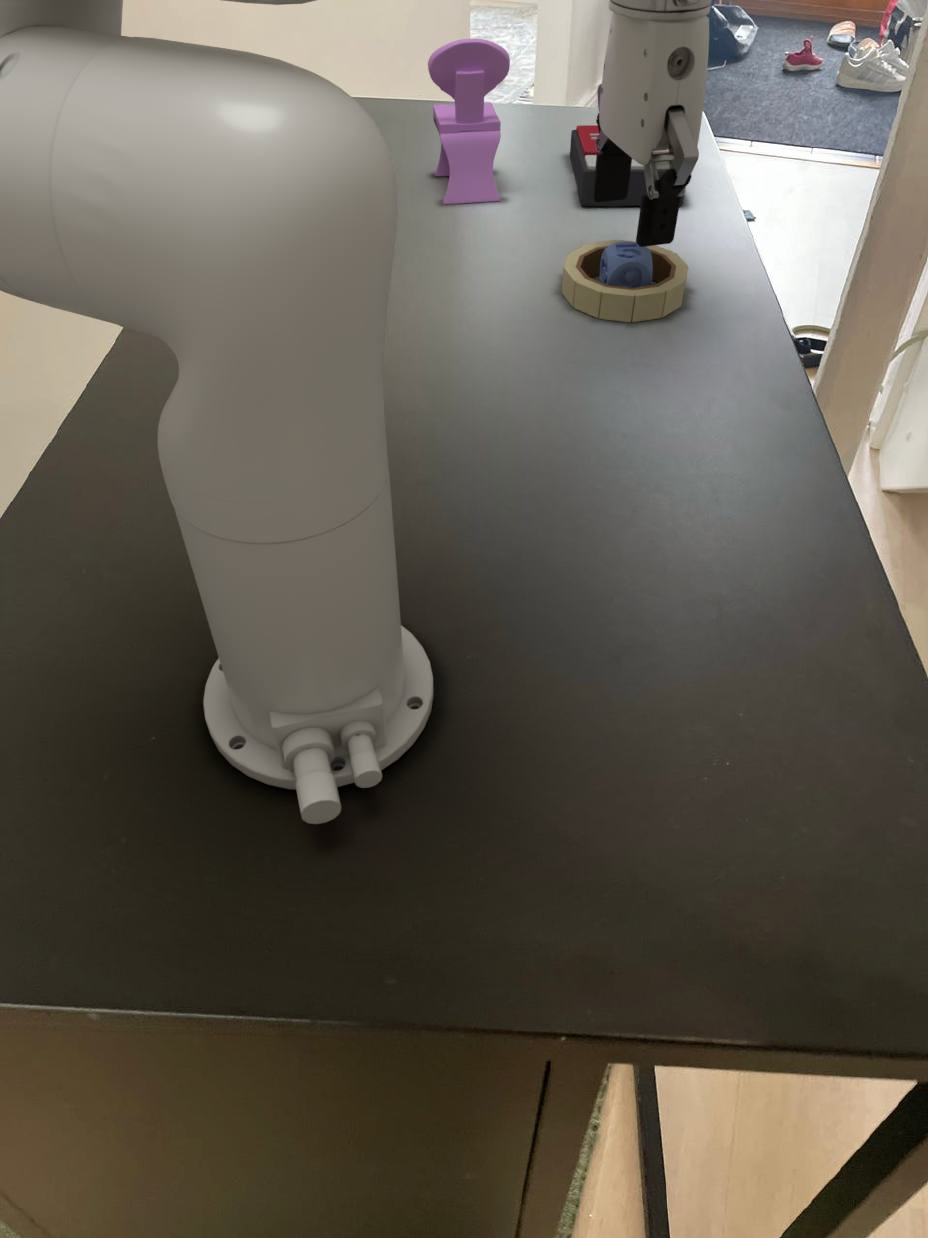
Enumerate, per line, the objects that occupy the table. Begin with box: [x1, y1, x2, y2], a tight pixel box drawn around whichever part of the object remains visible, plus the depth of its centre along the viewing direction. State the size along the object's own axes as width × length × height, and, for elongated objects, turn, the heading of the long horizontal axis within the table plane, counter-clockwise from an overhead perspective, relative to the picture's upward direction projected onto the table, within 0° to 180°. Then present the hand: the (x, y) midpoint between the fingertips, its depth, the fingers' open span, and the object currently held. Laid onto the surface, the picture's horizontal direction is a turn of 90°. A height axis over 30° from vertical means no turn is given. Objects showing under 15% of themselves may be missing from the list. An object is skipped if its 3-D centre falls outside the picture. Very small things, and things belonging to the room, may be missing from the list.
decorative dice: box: [599, 240, 653, 288], centre depth 83 cm, size 4×4×4 cm
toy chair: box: [427, 38, 511, 205], centre depth 96 cm, size 8×9×15 cm
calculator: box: [569, 124, 685, 207], centre depth 101 cm, size 11×4×15 cm
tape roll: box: [561, 239, 689, 323], centre depth 83 cm, size 11×11×2 cm
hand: (630, 220), depth 79 cm, fingers open, 9 cm apart
